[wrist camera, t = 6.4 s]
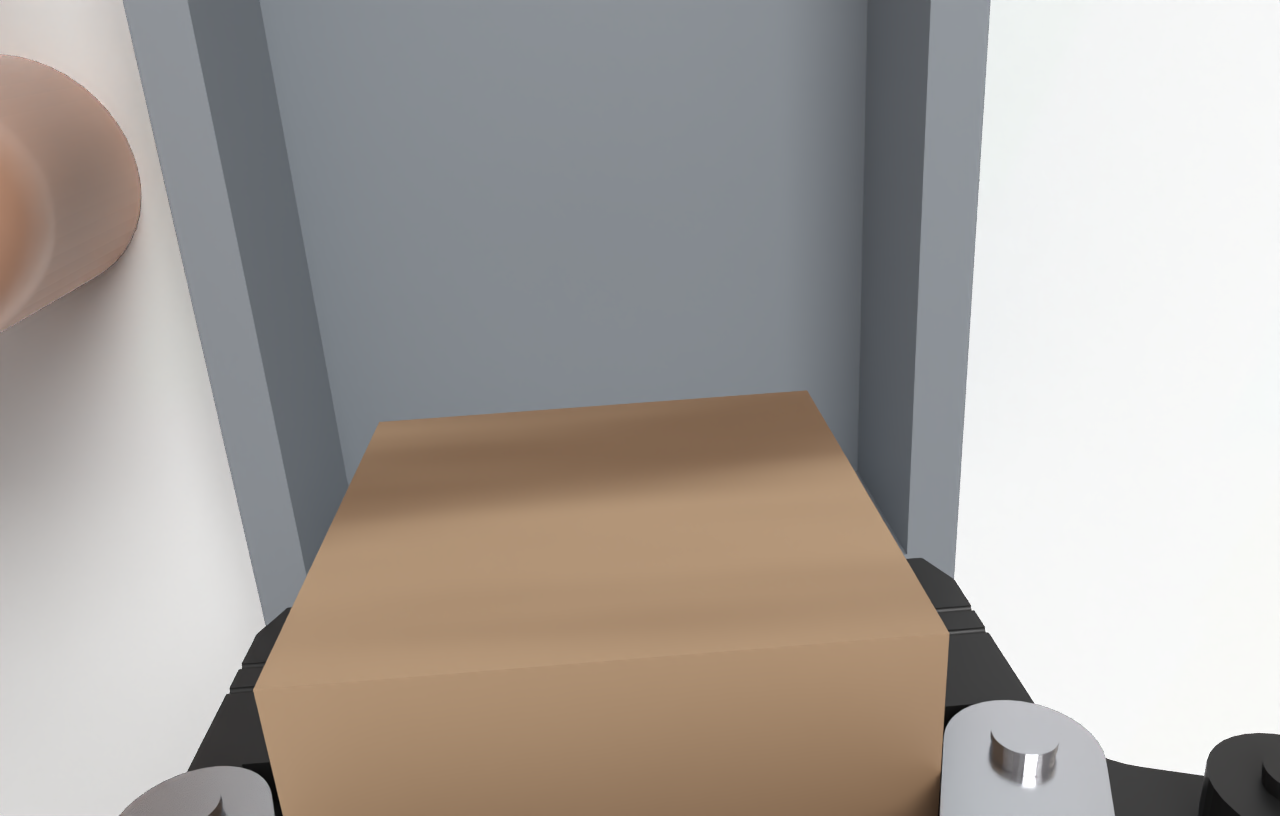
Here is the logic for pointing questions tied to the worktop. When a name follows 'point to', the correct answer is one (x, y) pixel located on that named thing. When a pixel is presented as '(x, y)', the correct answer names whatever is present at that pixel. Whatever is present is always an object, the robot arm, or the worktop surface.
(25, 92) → the terracotta capsule
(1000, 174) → the worktop surface
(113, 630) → the worktop surface
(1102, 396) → the worktop surface
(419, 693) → the walnut cube
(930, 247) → the grey tote
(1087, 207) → the worktop surface
